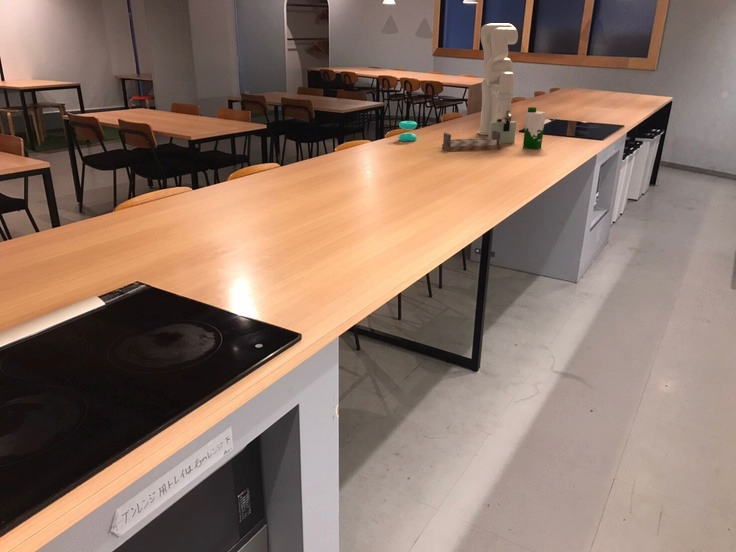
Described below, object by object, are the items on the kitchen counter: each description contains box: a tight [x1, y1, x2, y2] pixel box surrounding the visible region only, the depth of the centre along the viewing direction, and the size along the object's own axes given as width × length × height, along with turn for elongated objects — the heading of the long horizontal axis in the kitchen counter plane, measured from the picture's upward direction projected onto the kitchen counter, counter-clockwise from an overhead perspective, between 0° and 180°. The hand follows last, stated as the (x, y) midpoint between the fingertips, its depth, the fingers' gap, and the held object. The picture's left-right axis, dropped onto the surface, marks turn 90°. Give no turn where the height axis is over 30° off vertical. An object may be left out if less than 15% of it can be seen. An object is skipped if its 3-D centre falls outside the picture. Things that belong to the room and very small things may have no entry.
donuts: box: [398, 120, 418, 142], centre depth 321 cm, size 10×10×10 cm
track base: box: [441, 131, 501, 152], centre depth 298 cm, size 28×10×8 cm, turn 101°
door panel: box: [487, 120, 517, 144], centre depth 313 cm, size 14×3×11 cm, turn 101°
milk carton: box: [522, 106, 547, 150], centre depth 298 cm, size 9×9×20 cm
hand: (502, 130), depth 312 cm, fingers open, 9 cm apart
